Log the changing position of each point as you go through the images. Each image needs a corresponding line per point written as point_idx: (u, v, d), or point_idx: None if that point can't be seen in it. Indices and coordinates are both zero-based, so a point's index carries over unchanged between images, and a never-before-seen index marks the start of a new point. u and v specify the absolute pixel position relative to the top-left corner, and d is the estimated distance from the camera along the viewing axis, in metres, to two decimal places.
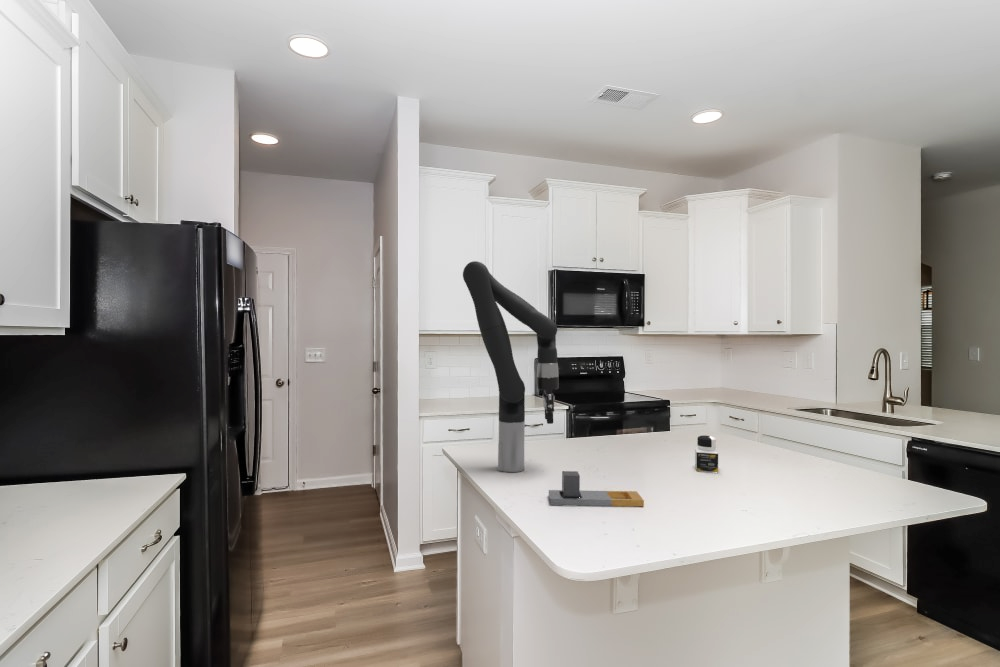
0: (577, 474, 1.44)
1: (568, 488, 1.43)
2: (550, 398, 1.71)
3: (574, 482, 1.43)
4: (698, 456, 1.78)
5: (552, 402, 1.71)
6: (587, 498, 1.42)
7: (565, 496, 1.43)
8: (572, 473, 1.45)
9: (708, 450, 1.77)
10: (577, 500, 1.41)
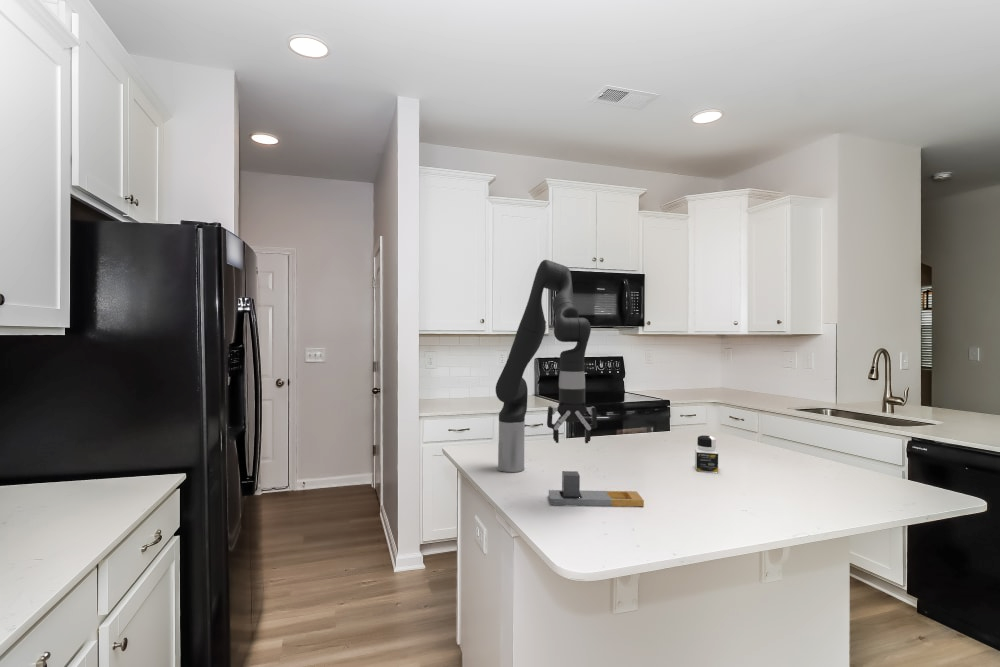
0: (577, 474, 1.44)
1: (568, 488, 1.43)
2: None
3: (574, 482, 1.43)
4: (698, 456, 1.78)
5: None
6: (587, 498, 1.42)
7: (565, 496, 1.43)
8: (572, 473, 1.45)
9: (708, 450, 1.77)
10: (577, 500, 1.41)
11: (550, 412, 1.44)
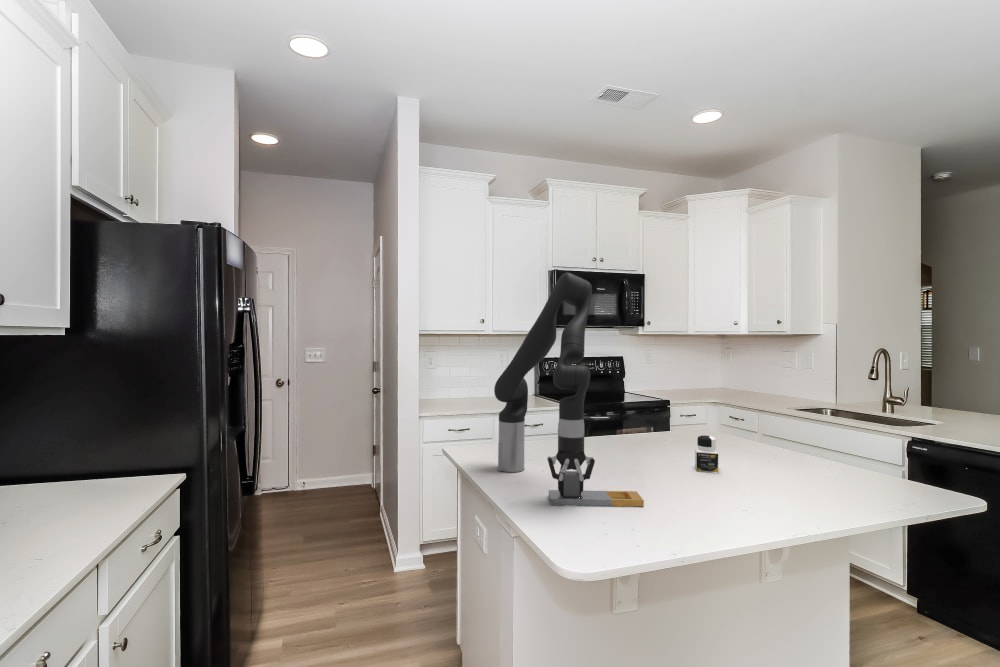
0: (577, 474, 1.44)
1: (568, 488, 1.43)
2: None
3: (574, 482, 1.43)
4: (698, 456, 1.78)
5: None
6: (587, 498, 1.42)
7: (565, 496, 1.43)
8: (572, 473, 1.45)
9: (708, 450, 1.77)
10: (577, 500, 1.41)
11: (550, 463, 1.44)
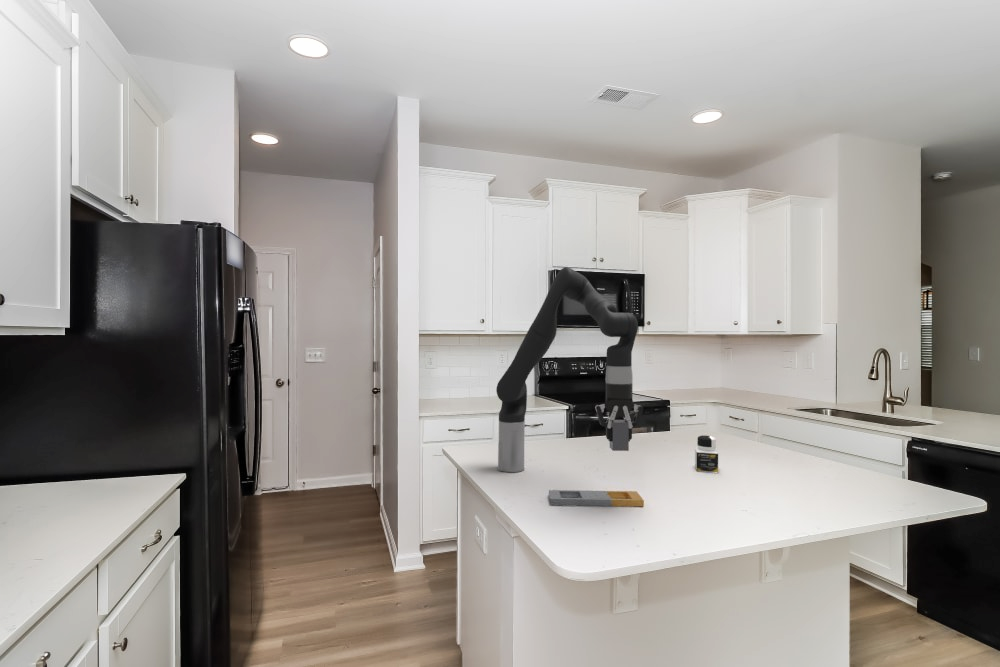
0: None
1: (617, 435, 1.42)
2: None
3: (623, 429, 1.42)
4: (698, 456, 1.78)
5: None
6: (587, 498, 1.42)
7: (614, 443, 1.42)
8: (620, 421, 1.45)
9: (708, 450, 1.77)
10: (577, 500, 1.41)
11: (599, 411, 1.44)
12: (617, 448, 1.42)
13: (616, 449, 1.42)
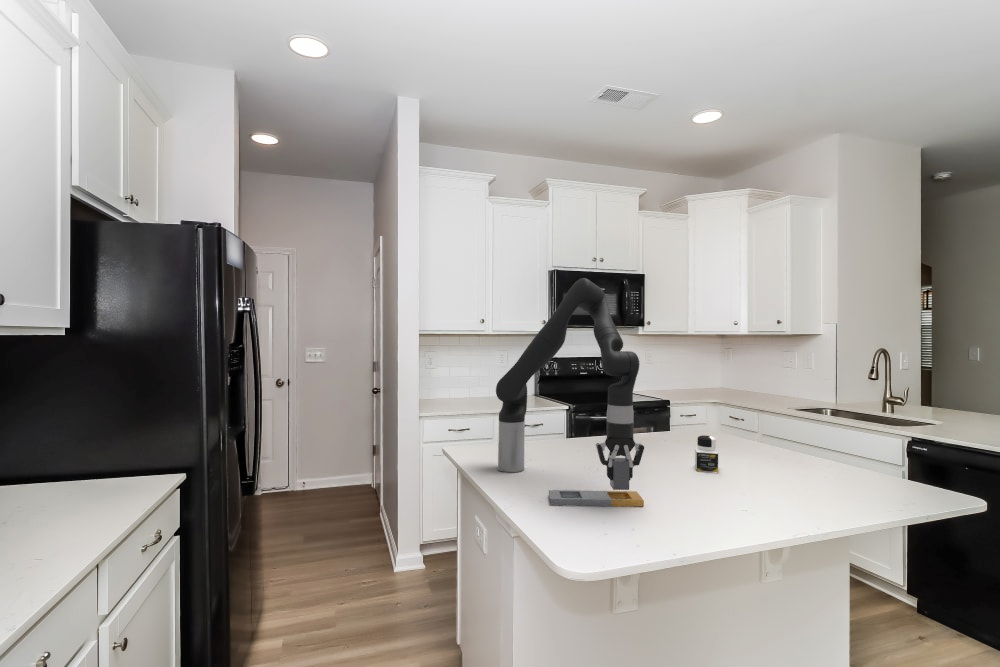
0: None
1: (618, 474, 1.43)
2: None
3: (624, 468, 1.43)
4: (698, 456, 1.78)
5: None
6: (587, 498, 1.42)
7: (615, 482, 1.43)
8: (621, 459, 1.45)
9: (708, 450, 1.77)
10: (577, 500, 1.41)
11: (600, 450, 1.44)
12: (617, 487, 1.43)
13: (617, 488, 1.43)
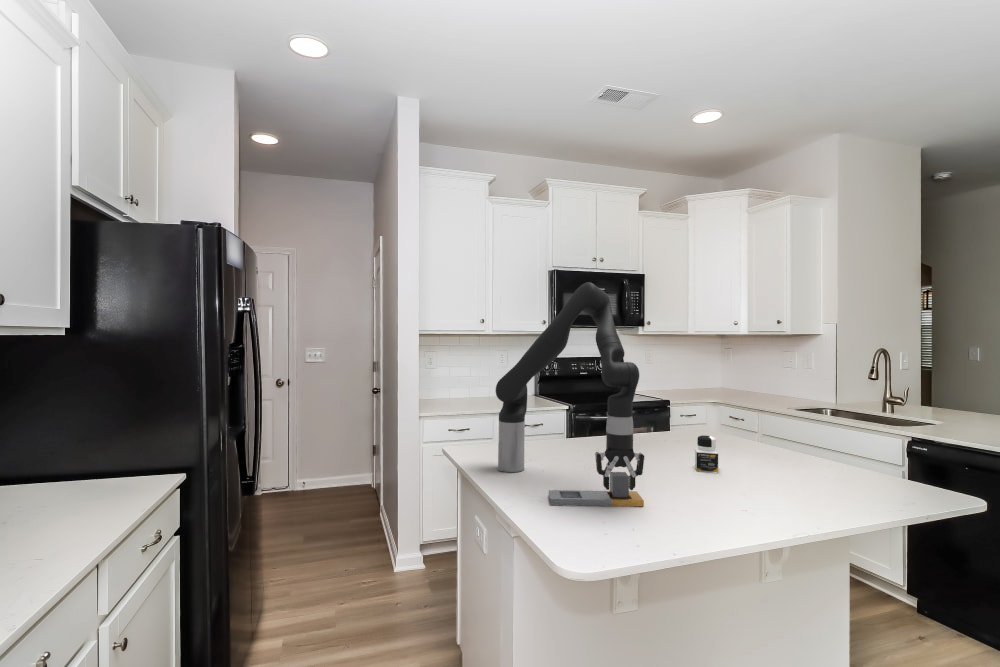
0: (626, 474, 1.44)
1: (617, 489, 1.43)
2: None
3: (624, 482, 1.43)
4: (698, 456, 1.78)
5: None
6: (587, 498, 1.42)
7: (614, 497, 1.43)
8: (621, 474, 1.45)
9: (708, 450, 1.77)
10: (577, 500, 1.41)
11: (598, 459, 1.44)
12: None
13: None
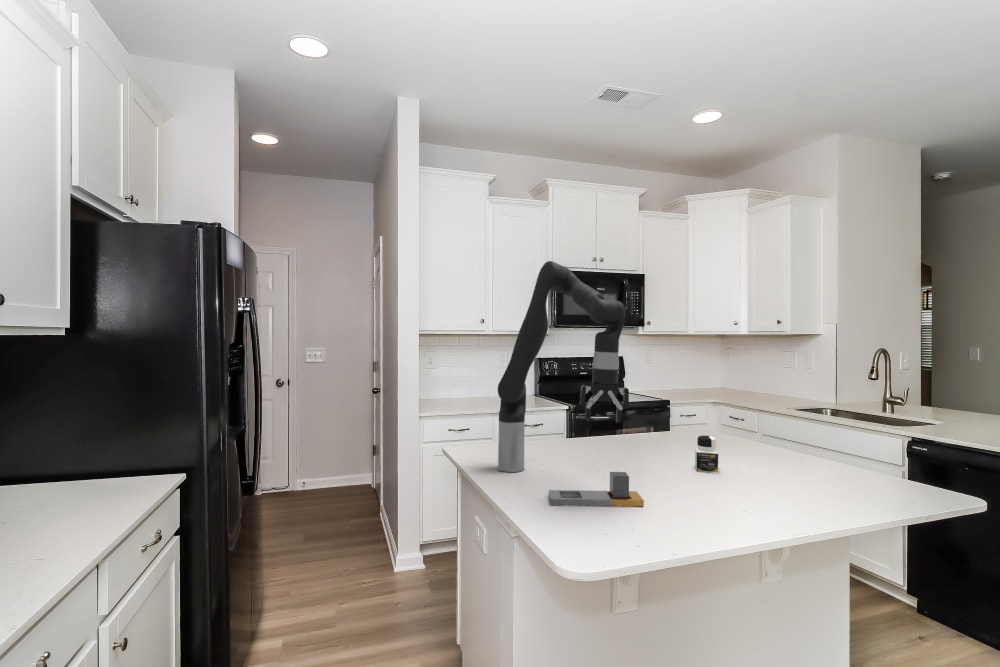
0: (626, 474, 1.44)
1: (617, 489, 1.43)
2: None
3: (624, 482, 1.43)
4: (698, 456, 1.78)
5: None
6: (587, 498, 1.42)
7: (614, 497, 1.43)
8: (621, 474, 1.45)
9: (708, 450, 1.77)
10: (577, 500, 1.41)
11: (583, 391, 1.49)
12: None
13: None
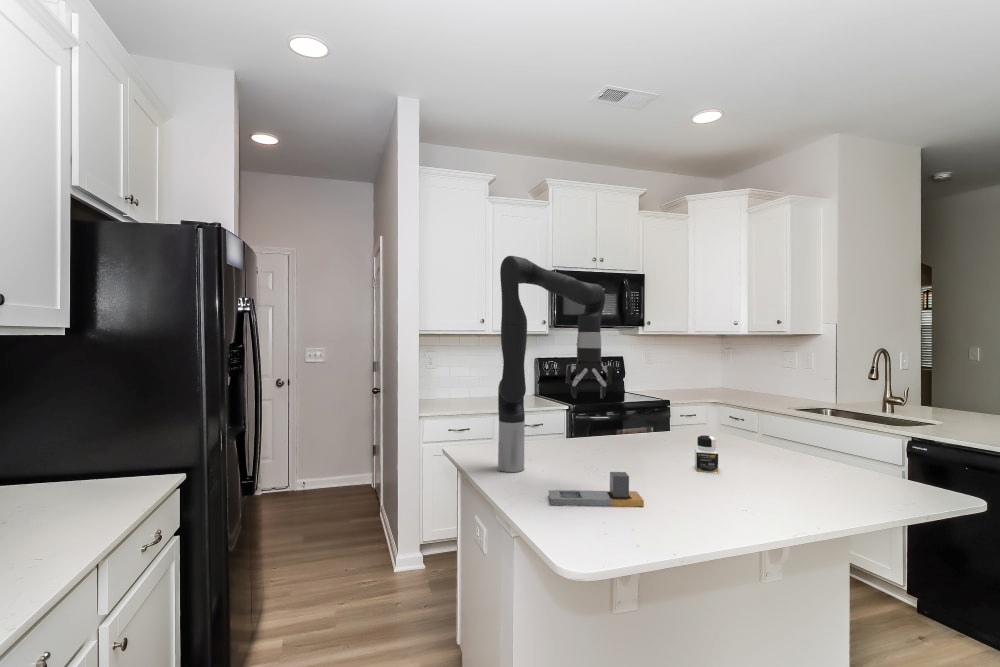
0: (626, 474, 1.44)
1: (617, 489, 1.43)
2: None
3: (624, 482, 1.43)
4: (698, 456, 1.78)
5: None
6: (587, 498, 1.42)
7: (614, 497, 1.43)
8: (621, 474, 1.45)
9: (708, 450, 1.77)
10: (577, 500, 1.41)
11: (569, 370, 1.57)
12: None
13: None
